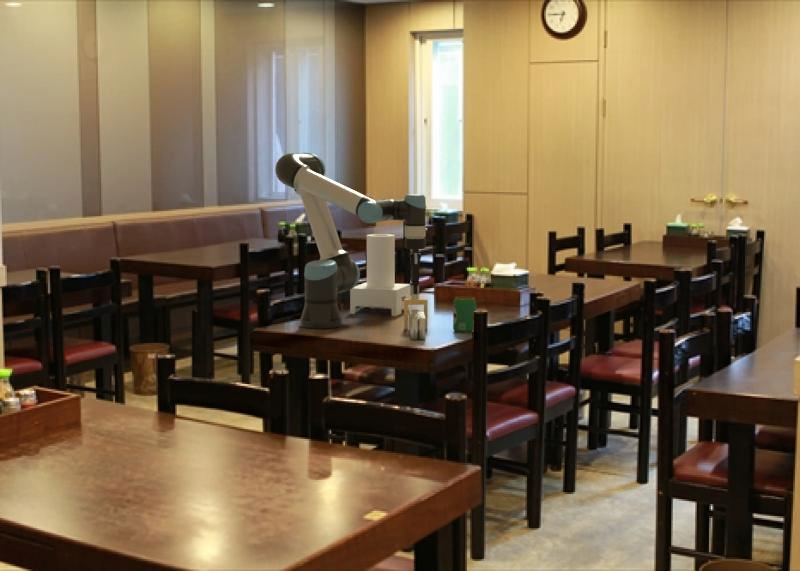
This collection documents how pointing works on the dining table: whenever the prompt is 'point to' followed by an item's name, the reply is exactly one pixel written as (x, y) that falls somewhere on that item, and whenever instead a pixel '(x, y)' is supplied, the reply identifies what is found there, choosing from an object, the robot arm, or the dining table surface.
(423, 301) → the tan flat upright block
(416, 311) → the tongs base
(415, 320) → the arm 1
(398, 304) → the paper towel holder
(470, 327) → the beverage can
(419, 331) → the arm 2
